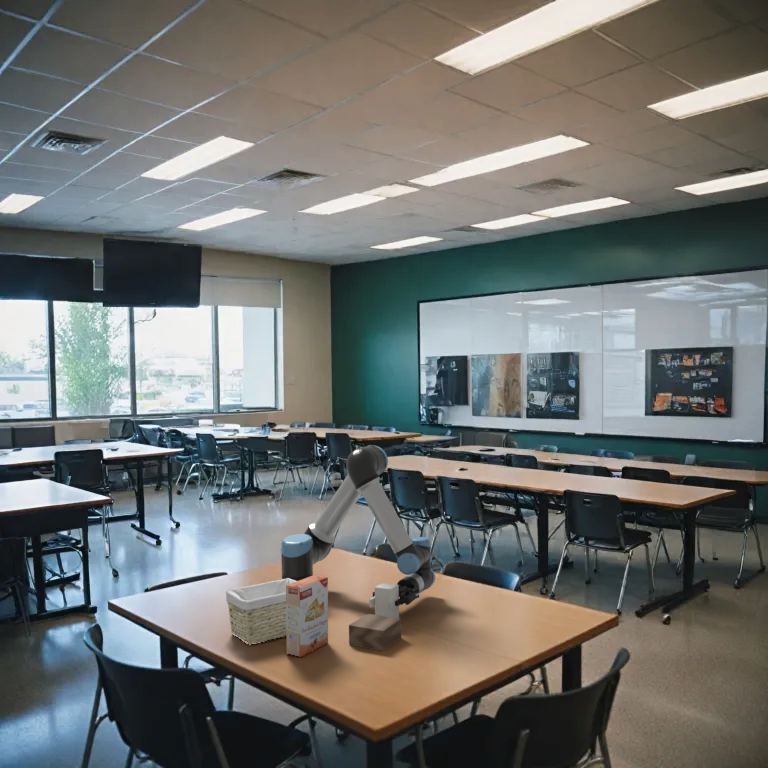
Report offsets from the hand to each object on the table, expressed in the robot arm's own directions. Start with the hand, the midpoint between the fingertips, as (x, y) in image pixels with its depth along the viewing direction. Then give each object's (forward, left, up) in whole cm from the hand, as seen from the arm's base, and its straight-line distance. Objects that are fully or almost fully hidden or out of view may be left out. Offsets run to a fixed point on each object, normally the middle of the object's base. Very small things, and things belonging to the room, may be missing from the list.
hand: (379, 604), depth 235 cm
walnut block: (-3, -14, -7) cm, 16 cm away
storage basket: (-36, -1, -7) cm, 37 cm away
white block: (+3, +4, -7) cm, 9 cm away
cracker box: (-24, -17, -7) cm, 30 cm away
